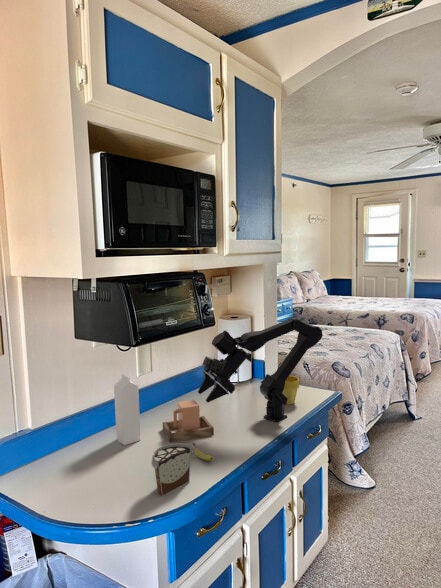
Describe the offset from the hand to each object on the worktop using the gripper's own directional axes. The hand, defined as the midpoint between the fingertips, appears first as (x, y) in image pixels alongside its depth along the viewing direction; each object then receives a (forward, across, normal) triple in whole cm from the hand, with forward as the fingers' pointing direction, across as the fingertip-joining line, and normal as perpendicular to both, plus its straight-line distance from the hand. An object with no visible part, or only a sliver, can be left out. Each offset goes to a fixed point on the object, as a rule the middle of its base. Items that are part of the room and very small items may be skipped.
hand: (202, 397), depth 152 cm
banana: (+13, +21, +4) cm, 25 cm away
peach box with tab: (+13, 0, +4) cm, 13 cm away
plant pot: (-20, -13, +36) cm, 43 cm away
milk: (+27, -1, -10) cm, 28 cm away
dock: (+12, 0, +4) cm, 13 cm away
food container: (+22, +31, -5) cm, 38 cm away
